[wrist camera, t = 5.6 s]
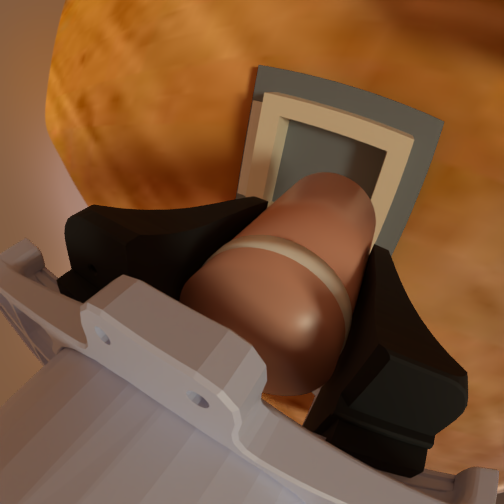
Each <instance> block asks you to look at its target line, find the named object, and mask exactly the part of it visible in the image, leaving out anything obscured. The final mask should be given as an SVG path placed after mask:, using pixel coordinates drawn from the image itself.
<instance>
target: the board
mask: <svg viewBox="0 0 504 504" xmlns="http://www.w3.org/2000/svg"><path fill="white" fill-rule="evenodd" d="M443 124H444V121H442V120H439V119H437V118H435V117H433V116H431V115H428V114H426V113H424V112H421V111H419V110H416V109H414V108H412V107H409V106H407V105H404V104H401V103H399V102H396V101H393V100H391V99H388V98H385V97H382V96H380V95H377V94H374V93H371V92H368V91H365V90H361V89H358V88H355V87H352V86H348V85H345V84H342V83H338V82H334V81H331V80H327V79H323V78H319V77H315V76H311V75H307V74H303V73H298V72H294V71H289V70H284V69H279V68H274V67H268V66H262V65H259V66H258V72H257V77H256V83H255V88H254V94H253V99H252V105H251V111H250V116H249V122H248V128H247V134H246V139H245V145H244V151H243V157H242V163H241V169H240V175H239V182H238V188H237V194H236V199H240V198H245V197H252V196H255V197H258V198H261V199H264V200H266V201H268V206H267V208H268V207H269V206H270V205H271V204H273V203H274V202H275V201H276V200H277V199H278V198H279V197H281V196H282V195H283V194H284V193H285V192H286V191H287V190H289V189H290V188H291V187H292V186H293V185H294V184H295V183H297V182H298V181H299V180H300V179H302V178H304V177H306V176H308V175H311V174H314V173H320V172H330V173H336V174H339V175H343V176H345V177H347V178H349V179H351V180H352V181H354V182H355V183H357V184H358V185H359V186H360V187H361V188H362V189H363V190H364V191H365V192H366V194H367V195H368V197H369V198H370V200H371V202H372V205H373V207H374V211H375V216H376V227H375V232H374V237H373V241H372V245H371V250H372V248H373V245H374V244H376V245H378V246H380V247H382V248H385V249H387V250H389V253H390V255H391V256H392V253H393V251H394V249H395V247H396V245H397V243H398V241H399V239H400V236H401V234H402V232H403V230H404V228H405V225H406V223H407V221H408V218H409V216H410V214H411V211H412V209H413V207H414V204H415V202H416V199H417V197H418V195H419V192H420V190H421V187H422V184H423V182H424V179H425V177H426V174H427V171H428V169H429V166H430V163H431V160H432V158H433V155H434V152H435V149H436V146H437V143H438V140H439V137H440V134H441V131H442V128H443ZM371 250H370V252H371Z"/></svg>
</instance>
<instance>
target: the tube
mask: <svg viewBox="0 0 504 504" xmlns="http://www.w3.org/2000/svg"><path fill="white" fill-rule="evenodd" d="M375 227H376V216H375V211H374V207H373V205H372V202H371V200H370V198H369V197H368V195H367V194H366V192H365V191H364V190H363V189H362V188H361V187H360V186H359V185H358V184H357V183H355V182H354V181H352V180H351V179H349V178H347V177H345V176H343V175H339V174H336V173H330V172H320V173H314V174H311V175H308V176H306V177H304V178H302V179H300V180H299V181H298V182H297V183H295V184H294V185H293V186H292V187H291V188H290V189H289V190H287V191H286V192H285V193H284V194H283V195H282V196H281V197H279V198H278V199H277V200H276V201H275V202H274V203H273V204H271V205H270V206H269V207H268V208H267V209H266V210H265V211H264V212H262V213H261V214H260V215H259V216H258V217H257V218H256V219H255V220H253V221H252V222H251V223H250V224H249V225H248V226H247V227H246V228H245V229H243V230H242V231H241V232H240V233H239V234H238V235H237V236H236V237H235V238H233V239H232V240H231V241H230V242H228V243H226V244H225V245H223V246H222V247H221V248H220V249H219V250H217V251H216V252H215V253H214V254H213V255H212V256H211V257H210V258H208V259H207V261H206V262H205V263H204V264H203V266H202V267H201V268H200V269H199V270H198V271H197V272H196V273H195V274H194V275H193V276H192V277H191V278H189V280H188V281H187V282H186V283H185V285H184V287H183V289H182V291H181V295H180V301H179V302H180V303H182V304H184V305H186V306H188V307H190V308H191V309H193V310H195V311H197V312H199V313H201V314H203V315H204V316H206V317H208V318H210V319H212V320H214V321H216V322H218V323H220V324H222V325H223V326H225V327H227V328H229V329H231V330H233V331H234V332H235V333H237V334H238V335H240V336H241V337H242V338H244V339H245V340H247V341H248V342H249V343H251V344H252V345H253V347H254V348H255V350H256V351H257V352H258V354H259V355H260V357H261V358H262V359H263V361H264V362H265V364H266V370H267V382H266V385H265V387H264V389H263V393H267V394H272V395H280V396H296V395H302V394H307V393H310V392H313V391H315V390H317V389H318V388H320V387H321V386H323V385H324V384H325V383H326V382H327V381H328V380H329V379H330V377H331V376H332V374H333V372H334V369H335V367H336V364H337V361H338V358H339V355H340V354H341V352H342V350H343V348H344V346H345V343H346V340H347V337H348V334H349V331H350V327H351V323H352V315H353V312H354V309H355V305H356V302H357V299H358V295H359V292H360V288H361V284H362V281H363V277H364V273H365V269H366V265H367V261H368V257H369V254H370V250H371V245H372V241H373V237H374V232H375Z"/></svg>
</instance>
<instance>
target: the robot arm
mask: <svg viewBox="0 0 504 504" xmlns="http://www.w3.org/2000/svg"><path fill="white" fill-rule="evenodd" d="M267 206H268V201H266V200H264V199H261V198H258V197H255V196H252V197H245V198H240V199H235V200H230V201H225V202H221V203H215V204H210V205H204V206H198V207H192V208H183V209H170V210H136V209H122V208H114V207H107V206H99V205H91V206H89V207H87V208H85V209H84V210H82V211H80V212H78V213H76V214H74V215H72V216H71V217H70V218H68V220H67V222H66V225H65V233H64V234H65V241H66V246H67V251H68V255H69V260H70V264H71V268H72V269H71V270H70V271H68V272H67V273H65V274H64V275H63V276H61V277H60V278H57V277H56V276H55V275H54V274H53V273H52V272H50V271H49V270H48V269H47V268H46V267H45V263H44V259H43V256H42V253H41V251H40V250H39V248H38V247H37V246H35V245H34V244H33V243H32V242H31V241H30V240H29V239H27V238H25V239H23V240H21V241H20V242H18V243H16V244H15V245H13V246H12V247H10V248H8V249H7V250H5V251H4V252H2V253H1V254H0V310H1V312H2V314H3V315H4V316H5V318H6V319H7V320H8V322H9V323H10V324H11V326H12V327H13V328H14V329H15V331H16V332H17V333H18V335H19V336H20V337H21V339H22V340H23V341H24V342H25V344H26V345H27V346H28V348H29V349H30V350H31V351H32V353H33V354H34V355H35V356H36V358H37V359H38V360H39V361H40V362H41V363H42V365H43V366H44V367H43V368H41V369H40V370H39V371H38V372H37V373H36V374H35V375H34V376H33V377H32V378H30V379H29V380H28V381H27V382H26V383H25V384H24V385H23V386H22V387H21V388H20V389H19V390H18V391H17V392H16V393H14V395H12V396H11V397H10V398H9V399H8V400H7V401H6V402H5V403H4V404H3V405H2V406H1V407H0V504H495V503H496V496H497V487H498V477H499V471H498V470H495V469H489V468H483V467H471V468H468V469H465V470H463V471H461V472H460V473H458V474H457V475H452V474H447V473H442V472H437V471H433V470H428V469H424V466H425V461H426V456H427V450H428V449H430V448H432V446H433V445H434V438H435V435H436V434H437V433H438V432H440V431H441V430H443V429H444V428H445V427H447V426H448V425H450V424H451V423H452V422H454V421H455V420H456V419H457V418H458V417H459V416H460V415H461V414H462V413H463V412H464V410H465V408H466V406H467V402H468V376H467V372H466V371H465V370H464V369H463V368H462V367H461V366H460V365H459V364H458V363H457V362H456V361H455V360H454V359H453V358H452V357H451V356H450V355H449V354H448V353H447V352H446V350H445V349H444V348H443V347H442V346H441V345H440V343H439V342H438V341H437V340H436V339H435V337H434V336H433V335H432V334H431V332H430V331H429V329H428V328H427V327H426V325H425V324H424V323H423V321H422V320H421V318H420V317H419V315H418V313H417V312H416V310H415V308H414V307H413V305H412V303H411V301H410V299H409V298H408V296H407V293H406V291H405V289H404V287H403V285H402V283H401V281H400V278H399V276H398V274H397V271H396V269H395V266H394V263H393V261H392V258H391V255H390V253H389V250H387V249H385V248H382V247H380V246H378V245H376V244H374V245H373V248H372V250H371V252H370V254H369V257H368V261H367V265H366V269H365V273H364V277H363V281H362V284H361V288H360V292H359V295H358V299H357V302H356V305H355V309H354V312H353V315H352V323H351V327H350V331H349V334H348V337H347V340H346V343H345V346H344V348H343V350H342V352H341V354H340V355H339V358H338V361H337V364H336V367H335V369H334V372H333V374H332V376H331V377H330V379H329V380H328V381H327V382H326V383H325V384H324V385H323V386H321V387H320V388H318V389H317V390H315V391H313V392H312V393H313V394H314V395H315V398H314V400H313V402H312V405H311V407H310V409H309V412H308V414H307V416H306V418H305V421H304V423H303V425H302V426H301V425H300V424H298V423H297V422H295V421H294V420H292V419H291V418H289V417H288V416H286V415H285V414H283V413H282V412H280V411H279V410H277V409H276V408H274V407H273V406H272V405H270V404H269V403H267V402H266V401H264V400H263V399H262V398H261V394H262V392H263V389H264V387H265V385H266V382H267V370H266V364H265V362H264V361H263V359H262V358H261V357H260V355H259V354H258V352H257V351H256V350H255V348H254V347H253V345H252V344H251V343H249V342H248V341H247V340H245V339H244V338H242V337H241V336H240V335H238V334H237V333H235V332H234V331H233V330H231V329H229V328H227V327H225V326H223V325H222V324H220V323H218V322H216V321H214V320H212V319H210V318H208V317H206V316H204V315H203V314H201V313H199V312H197V311H195V310H193V309H191V308H190V307H188V306H186V305H184V304H182V303H180V302H179V301H180V295H181V291H182V289H183V287H184V285H185V283H186V282H187V281H188V280H189V278H191V277H192V276H193V275H194V274H195V273H196V272H197V271H198V270H199V269H200V268H201V267H202V266H203V264H204V263H205V262H206V261H207V259H208V258H210V257H211V256H212V255H213V254H214V253H215V252H216V251H217V250H219V249H220V248H221V247H222V246H223V245H225V244H226V243H228V242H230V241H231V240H232V239H233V238H235V237H236V236H237V235H238V234H239V233H240V232H241V231H242V230H243V229H245V228H246V227H247V226H248V225H249V224H250V223H251V222H252V221H253V220H255V219H256V218H257V217H258V216H259V215H260V214H261V213H262V212H264V211H265V210H266V209H267Z"/></svg>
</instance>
